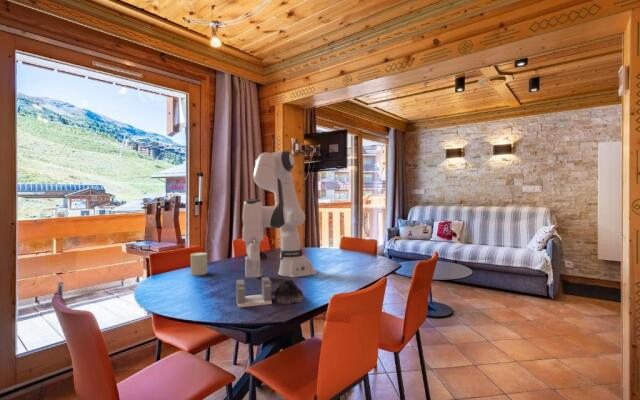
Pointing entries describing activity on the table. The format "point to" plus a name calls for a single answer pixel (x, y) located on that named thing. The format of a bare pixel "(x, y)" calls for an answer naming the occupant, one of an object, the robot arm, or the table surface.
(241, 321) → the table surface
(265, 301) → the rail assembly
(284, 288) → the dark grey rock
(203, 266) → the can
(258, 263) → the block
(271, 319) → the table surface
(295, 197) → the robot arm
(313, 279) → the table surface
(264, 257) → the decorative mushroom
